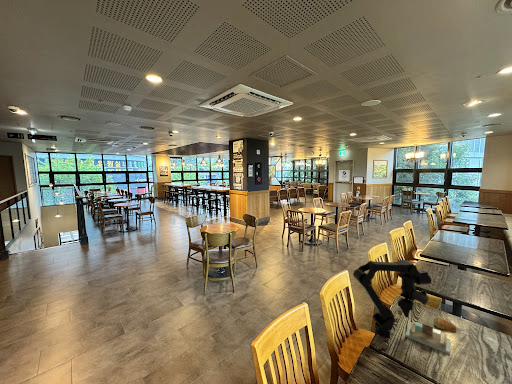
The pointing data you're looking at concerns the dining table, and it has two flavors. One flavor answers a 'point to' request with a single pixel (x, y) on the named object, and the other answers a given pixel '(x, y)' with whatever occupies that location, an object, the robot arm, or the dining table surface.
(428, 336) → the tray
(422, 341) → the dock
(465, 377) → the dining table surface
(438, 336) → the block
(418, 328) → the block
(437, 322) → the pastry
